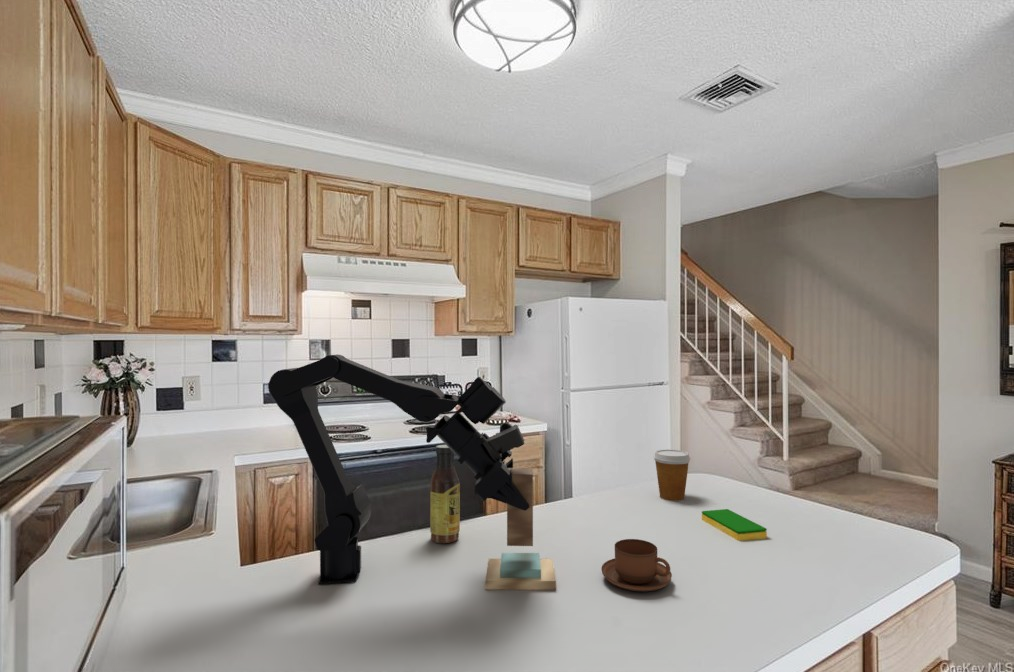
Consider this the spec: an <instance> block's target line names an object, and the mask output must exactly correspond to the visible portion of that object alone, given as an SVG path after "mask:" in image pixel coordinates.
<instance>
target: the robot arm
mask: <svg viewBox="0 0 1014 672" xmlns="http://www.w3.org/2000/svg"><path fill="white" fill-rule="evenodd" d="M332 379H335V380H338V381H340V382H342V383H345V384H347V385H351V386H353V387H355V388H357V389H360V390H363V391H365V392H368V393H370V394H372V395H375V396H377V397H380V398H382V399H385V400H387V401H390V402H392V404H394V405H395V406H397V407H398V408H399V409H401V411H403V412H404V413H405V414H408V415H409V416H411V418H414V419H415V420H417V421H418V422H421V423H429V422H432V421H434V420H436V419H437V418H438V417H439V416H440V415H442V414H445V415H443V416H442V417H441V418H440V419H439V420H438V421H437V422H436V423H435V424H434V425H429V424H428V425H426V428H425V431H426V443H427V444H429V443H431V442H433V440H434V439H435V438H436V437H438V438H439V439H440V440H441V441H442V442H443V443H444V445H447V446H448V447H449V448H450V449H451V450H452V451H453V452H454V454H455V456H457V457H458V458H457V461H458V463H459V464H460V465H462V464H464V465H465V466H466V467H467V468H469V469H470V471H471V472H472V473H473V474H474V476H473V478H474V479H475V480H476V481H475V485H474V495H475V496H476V497H477V498H478V499H479V500H480V501H481V502H485V501H486V500H487V499H492V500H495V501H497V502H500V503H503V504H505V505H507V504H509V505H511V506H514V507H517V508H519V509H522V510H524V511H526V510H527V509H528V508H529V504H528V503H527V501H526V500H525V498H524V497H523V496H522V494H521V493H520V491H519V490H518V489H517V487H516V486H515V484H514V483H513V481H512V469H511V470H510V471H509V470H508V468H514V458H513V457H512V458H511V456H512V454H513V453H512V450H513V449H515V448H517V449H518V448H520V447H522V446H524V445H525V438H524V436H523V434H522V432H521V430H520V427H519V426H518V425H519V424H514V425H512V424H510V423H509V422H508V421H505V422H504V423H501V424H500V426H499V432H496V433H495V434H493V435H491V436H489V435H488V434H487V433H486V432H482V433H480V432H479V430H477V429H476V428H475V426H474V425H477V424H478V423H481V424H483V425H485V423H487V422H488V421H489V420H490V418H492V417H493V416H494V415H495V414H496V413H497V412H498V411H499V410H500V409H501V408H502V407H503V406H504V405H505V404H506V403H507V402H506V401H507V400H506V399H505V398H504V397H503V396H502V394H501V393H500V392H499V391H498V390H497V389H496V388H495V387H494V386H491V385H490V384H489V383H488V382H486V380H484V379H483V378H482V377H481V376H477V377H476V378H475V379H474V380H473V382H472V383H471V385H470V386H469V387H468V388H467V389H466V390H465V391H464V392H463V393H462V394H461V395H457V394H448V393H444V392H443V390H442V389H440V388H438V387H435V386H432V385H426V384H422V383H417V382H409V381H404V380H400V379H398V378H395V377H392V376H391V375H388V374H386V373H383V372H381V371H378V370H376V369H373V368H370V367H368V366H366V365H363V364H361V363H358V362H356V361H353V360H350V359H349V358H347V357H345V356H344V355H341V354H329V355H326V356H324V357H323V358H321V359H318V360H316V361H314V362H310V363H309V364H305V365H302V366H301V367H291V368H285V369H280V370H278V371H276V372H274V373H273V374H272V376H271V377H270V379H269V381H268V383H267V389H268V392H269V394H270V396H271V398H272V400H274V402H275V403H276V405H277V407H278V408H279V410H281V411H282V413H284V414H285V415H286V416H287V417H288V418H289V419H291V420H292V423H293V425H294V426H295V429H296V432H297V434H298V436H299V438H300V440H301V443H302V445H303V448H304V450H305V452H306V455H307V456H308V459H309V461H310V464H311V466H312V468H313V470H314V472H315V475H316V477H317V480H318V482H319V484H320V486H321V488H322V491H323V494H324V495H323V497H324V502H323V503H324V515H325V518H326V524H327V526H326V527H325V528H324V529H323V530H322V531H321V532H320V533H319V534H318V535H317V536H316V537H315V538H314V542H315V545H316V548H317V551H319V578H318V580H317V583H318V585H328V584H329V585H330V584H343V583H353V582H356V581H357V580H358V575H359V574H360V573H361V570H362V545H359V537H358V534H360V531H361V530H362V528H364V526H365V525H366V524H367V523H368V522H369V520H370V518H371V515H372V508H371V505H372V504H373V501H371V499H370V498H369V497H368V494H367V491H366V488H365V485H364V484H363V483H361V484H360V485H358V486H356V485H354V484H353V483H352V482H351V480H350V479H349V477H348V475H347V473H346V470H345V469H344V467H343V464H342V462H341V460H340V457H339V454H338V451H336V448H335V446H334V445H335V444H333V441H332V439H331V436H330V434H329V432H328V430H327V427H326V426H325V423H324V420H323V419H322V416H321V414H320V411H319V396H318V395H319V394H318V390H317V386H319V385H322V384H324V383H326V382H328V381H330V380H332ZM457 406H460V408H459V409H457V411H455V412H454V414H453V415H452V416H448V415H446V414H447V413H451V412H452V411H453V410H454V409H455V408H456V407H457ZM462 413H463V414H462ZM472 423H473V424H474V425H473V424H472ZM508 458H510V460H508V461H507V462H506V461H505V460H506V459H508Z"/></svg>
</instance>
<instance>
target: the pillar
mask: <svg viewBox="0 0 1014 672" xmlns="http://www.w3.org/2000/svg"><path fill="white" fill-rule="evenodd" d="M511 469H512V481H513V483H514V484H515V486H516V487H517V489H518V490H519V491H520V493H521V494H522V496H523V497H524V498H525V500H526V501H527V503H528V504H529V508H528V509H527V510H526V511H524V510H522V509H519V508H517V507H514V506H511V505H509V504H506V510H507V511H506V546H507V547H512V546H513V547H534V471H533V467H513V468H508V470H509V471H510V470H511Z"/></svg>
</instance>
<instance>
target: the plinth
mask: <svg viewBox="0 0 1014 672" xmlns="http://www.w3.org/2000/svg"><path fill="white" fill-rule="evenodd" d="M500 557H501V558H488V560H487V567H486V576H485V587H484V588H485V590H516V591H517V590H519V591H520V590H522V591H523V590H525V591H527V590H536V591H537V590H538V591H539V590H540V591H542V590H547V591H553V590H555V591H556V590H557V580H556V573H555V567H554V559H553V558H541V556H540V553H539V552H501V555H500Z"/></svg>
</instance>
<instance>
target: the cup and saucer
mask: <svg viewBox="0 0 1014 672" xmlns="http://www.w3.org/2000/svg"><path fill="white" fill-rule="evenodd" d="M663 564H664V565H663ZM601 573H602V575H603V578H605V579H606V580H607V581H608V582H609V583H611V584H612V585H614V586H616V587H618V588H620V589H624V590H626V591H627V590H628V591H634V592H653V591H656V590H660V589H663V588H664V587H666V586H667V585H668V584H669V583H670V582H671V580H672V577H673V574H672V572H671V566H670V564H669V562H668V561H667V560H666V559H664V558H662V557H658V547H657V546H656V545H655V544H654V543H652V542H650V541H647V540H644V539H638V538H625V539H621V540H618V541H616V542H615V543H614V558H612V559H609V560H607V561H605V562H603V564H602V566H601Z"/></svg>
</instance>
